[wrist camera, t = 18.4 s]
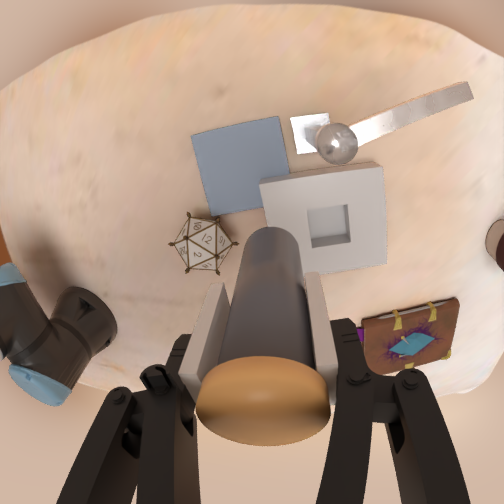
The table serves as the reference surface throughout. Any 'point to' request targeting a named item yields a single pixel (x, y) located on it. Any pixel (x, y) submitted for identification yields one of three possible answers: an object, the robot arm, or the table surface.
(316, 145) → the silver ball-ended lever
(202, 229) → the game die
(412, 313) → the book
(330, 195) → the socket block
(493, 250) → the coffee cup
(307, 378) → the plug
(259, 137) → the pad
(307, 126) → the post
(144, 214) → the table surface
